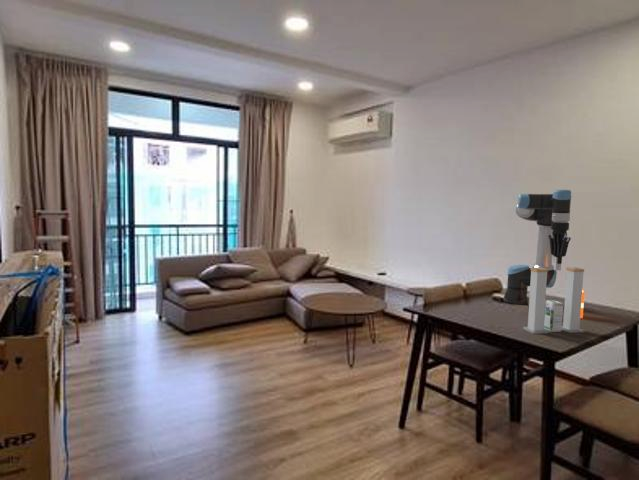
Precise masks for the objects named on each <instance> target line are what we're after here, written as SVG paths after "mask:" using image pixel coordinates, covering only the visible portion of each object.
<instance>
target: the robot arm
mask: <svg viewBox="0 0 639 480" xmlns="http://www.w3.org/2000/svg"><path fill="white" fill-rule="evenodd" d="M517 199H518V200H517V205H516V208H515V213H516V215H517V216H518V217H519V218H521V219H523V220H526V221H530V222H536V225H537V226H538V234H537V246H536V258H535V259H536V260H535V263H534V264H533V265H532V267H530V266H529V265H527V264H515V265H509V267H508V271H507V285H506V286H507V287H506V288H507V289H506V290H505V293H504V295H503V301H504V302H505V303H509V304H513V305H514V304H515V305H528V299H527V293H528V292H529V291H528V287H530V281H531V268H544V269H547V270H548V272H547V283H546V289H548V288H550V289H551V288H553V287H554V286H555V283H556V280H557V276H558V275H557V274H558V273H557V271H561V269H562V263H563V262H562V261H563V257H566V256H567V253H568V252H567V251H568V247H569V245H570V244H569V243H570V241H571V237H570V236H568V232H567V231H569V230H570V223H569V222H570V220H571V218H570V217H571V203H572V191H571V190H570V189H555V190H554V191H553V193H522V194H521V193H520V194H519V195H518V198H517ZM552 263H553V264H552Z"/></svg>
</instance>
